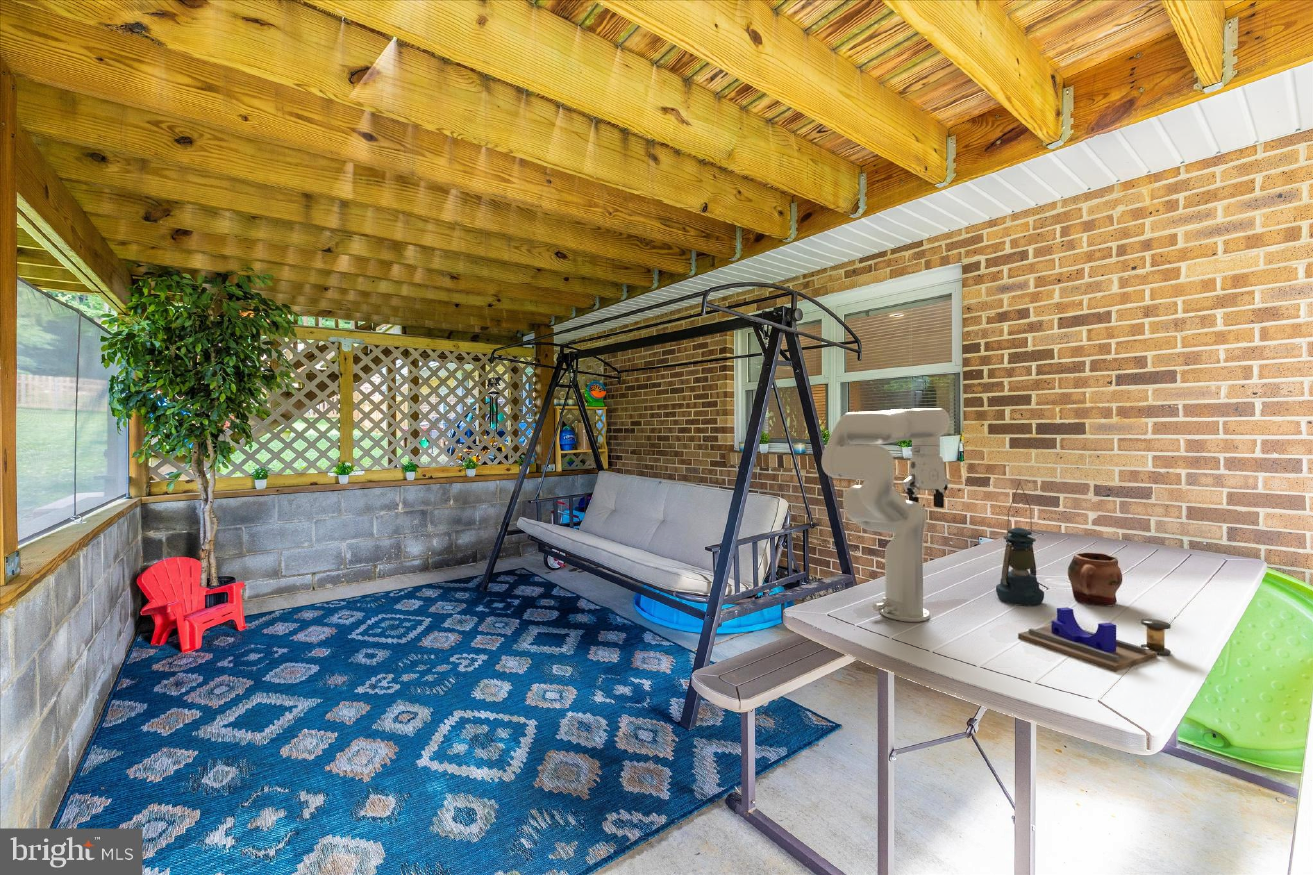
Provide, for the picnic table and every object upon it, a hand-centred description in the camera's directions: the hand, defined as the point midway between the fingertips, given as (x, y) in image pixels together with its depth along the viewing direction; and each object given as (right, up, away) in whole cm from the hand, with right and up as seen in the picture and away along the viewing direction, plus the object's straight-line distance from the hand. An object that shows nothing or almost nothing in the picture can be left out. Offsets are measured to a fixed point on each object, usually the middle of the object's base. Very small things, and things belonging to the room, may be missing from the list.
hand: (926, 508), depth 161 cm
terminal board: (+19, -28, -36) cm, 49 cm away
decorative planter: (+46, -27, -5) cm, 53 cm away
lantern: (+27, -27, -2) cm, 38 cm away
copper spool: (+33, -28, -38) cm, 57 cm away
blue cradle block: (+19, -27, -35) cm, 48 cm away
